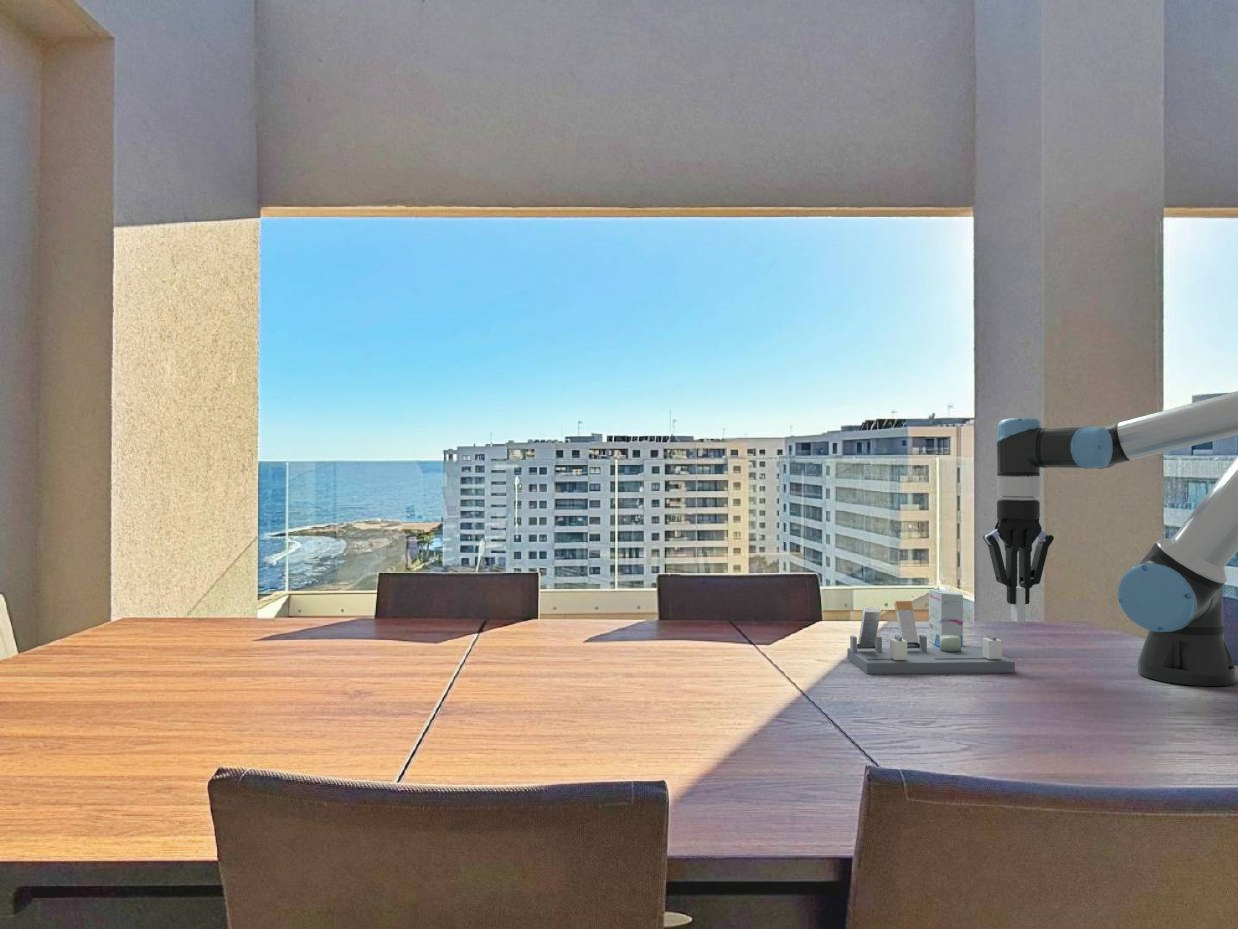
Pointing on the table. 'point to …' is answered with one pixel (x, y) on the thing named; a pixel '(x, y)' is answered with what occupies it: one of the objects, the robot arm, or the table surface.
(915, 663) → the panel
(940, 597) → the ink box
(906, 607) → the toggle
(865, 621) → the toggle
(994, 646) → the slider
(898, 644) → the slider
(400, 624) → the table surface
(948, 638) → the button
